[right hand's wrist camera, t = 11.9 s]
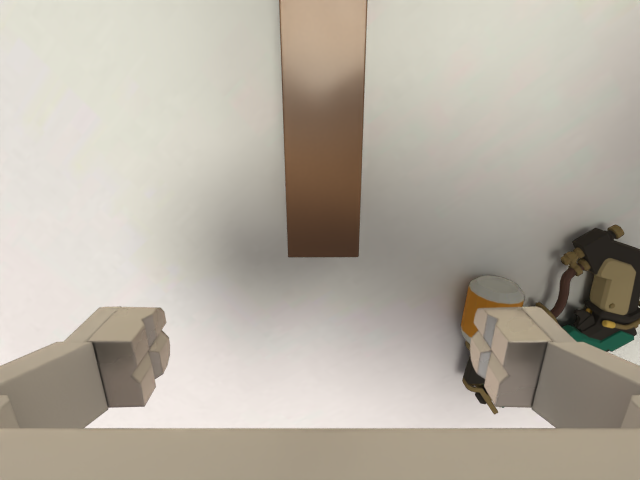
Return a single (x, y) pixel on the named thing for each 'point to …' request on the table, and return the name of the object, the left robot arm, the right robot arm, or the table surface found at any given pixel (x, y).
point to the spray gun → (591, 325)
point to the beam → (323, 123)
